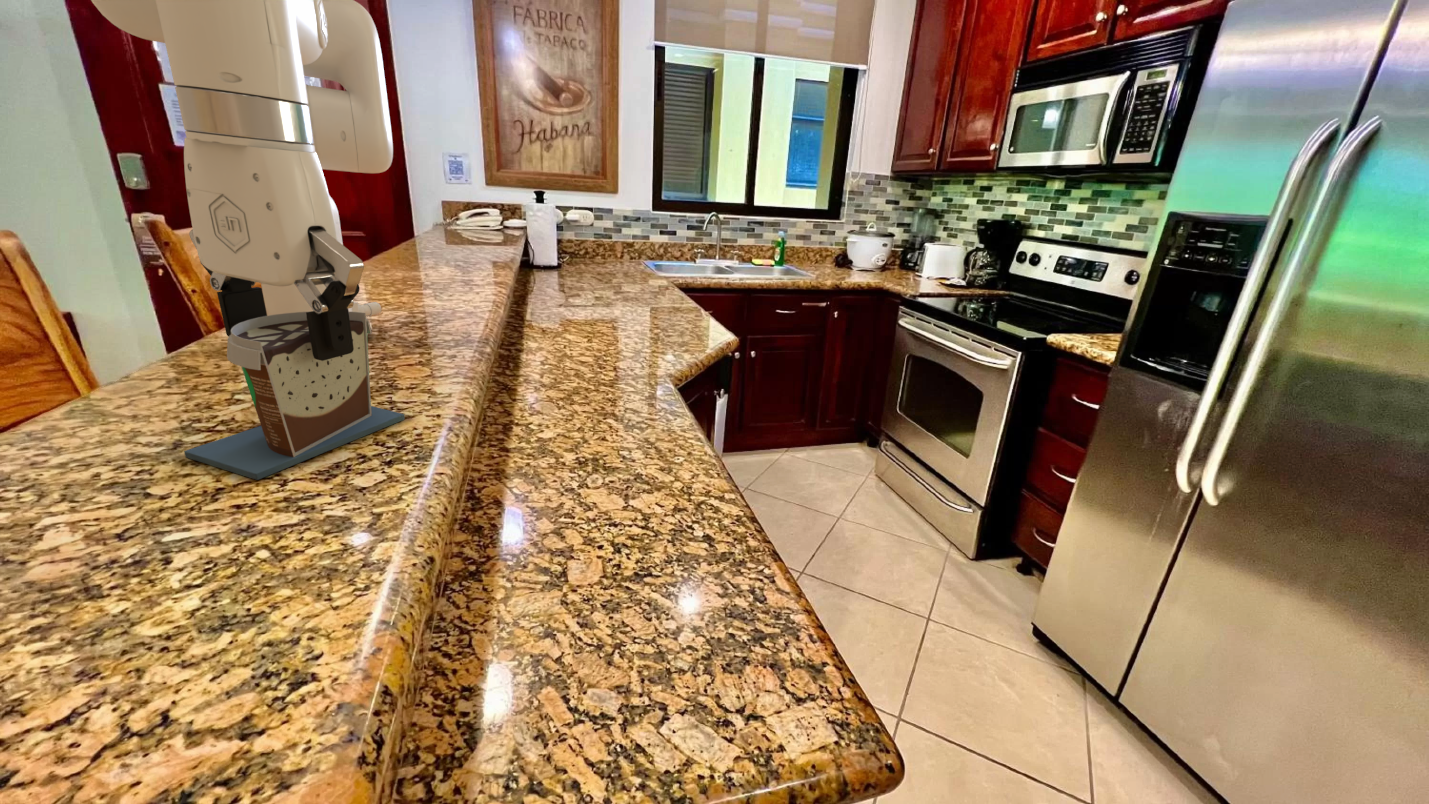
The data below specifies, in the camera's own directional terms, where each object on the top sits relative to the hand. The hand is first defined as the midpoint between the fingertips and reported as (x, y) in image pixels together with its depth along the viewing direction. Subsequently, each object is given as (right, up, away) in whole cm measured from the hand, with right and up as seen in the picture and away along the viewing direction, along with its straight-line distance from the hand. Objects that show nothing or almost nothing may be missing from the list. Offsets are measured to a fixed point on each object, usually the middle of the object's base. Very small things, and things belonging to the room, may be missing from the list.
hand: (290, 345), depth 47 cm
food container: (-1, -8, +2) cm, 8 cm away
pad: (-1, -8, +3) cm, 8 cm away
